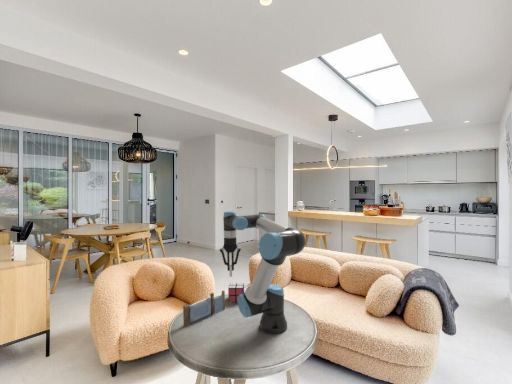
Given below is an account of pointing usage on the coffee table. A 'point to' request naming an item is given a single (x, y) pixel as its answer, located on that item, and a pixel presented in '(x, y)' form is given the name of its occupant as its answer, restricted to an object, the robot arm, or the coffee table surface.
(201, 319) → the latch line mat
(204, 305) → the gate
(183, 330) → the coffee table surface
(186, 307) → the post
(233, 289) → the puzzle cube
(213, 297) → the hinge post
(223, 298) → the fence panel
